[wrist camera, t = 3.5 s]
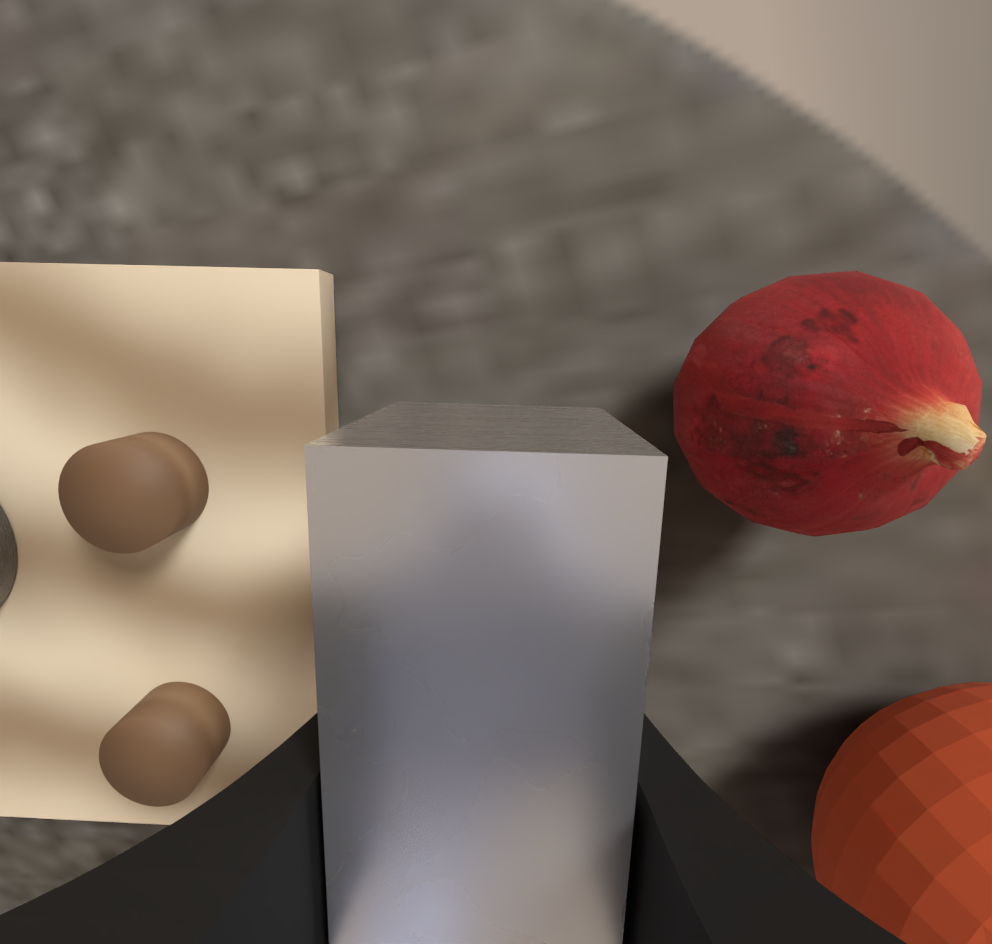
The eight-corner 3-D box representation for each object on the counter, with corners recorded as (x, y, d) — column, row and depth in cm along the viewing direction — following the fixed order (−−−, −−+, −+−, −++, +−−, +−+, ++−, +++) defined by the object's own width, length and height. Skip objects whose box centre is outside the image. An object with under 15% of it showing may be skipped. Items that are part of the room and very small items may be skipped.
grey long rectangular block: (567, 903, 14) (596, 1213, 9) (403, 894, 14) (341, 1197, 9) (600, 407, 11) (667, 456, 6) (396, 401, 11) (304, 444, 6)
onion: (648, 496, 17) (757, 622, 9) (639, 301, 16) (757, 260, 8) (843, 479, 17) (1123, 594, 9) (850, 278, 16) (1182, 214, 8)
